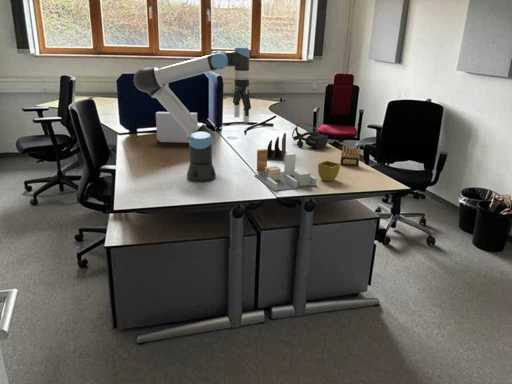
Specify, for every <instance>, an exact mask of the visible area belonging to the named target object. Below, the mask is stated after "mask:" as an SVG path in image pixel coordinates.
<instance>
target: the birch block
mask: <svg viewBox="0 0 512 384" xmlns="http://www.w3.org/2000/svg"><path fill="white" fill-rule="evenodd" d="M256 171H257V172H258V173H260V172H261V173H263V174H265V178H267V177H270V178H271V179H272V180H274V181H275V180H280V172H281V168H280V167H278V166H277V165H271V166H268V160H267V148H261V149H257V150H256Z"/></svg>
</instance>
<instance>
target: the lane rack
mask: <svg viewBox="0 0 512 384" xmlns="http://www.w3.org/2000/svg"><path fill="white" fill-rule="evenodd" d="M254 177H255V178H256V179H257V180H259V181H260V182H261V183H263V185H265V186H266V187H267V188H269V189H270V190H271V191H272V192H282V191H283V192H284V191H289V190H296V189H304V188H311V187H317V186H318V184H317V179H318V178H317V177H315V176H313V175H312V174H311V175H310V185H305V186H298V185H297V184H298V181H297V180H295V179H294V178H292V177H291V176H289V175H286V176H285V175H284V171H280V180H275V181H274V180H272V179H271V178H270V177H267V178H265V173H260V174H254Z"/></svg>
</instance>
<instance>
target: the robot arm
mask: <svg viewBox="0 0 512 384" xmlns="http://www.w3.org/2000/svg"><path fill="white" fill-rule="evenodd" d="M226 67H232V68H233V67H234V71H233V72H234V74H233V75H234V93H233V99H232V104H233V105H234V111H233V112H234V113H233V115H234V118H240V110H241V109H240V105H241V103H240V102H241V101H242V104H243V123H249V122H250V110H252V105H251V97H250V94H249V93H250V90H249V89H247V88H248V87H250V79H249V78H250V74H251V73H250V49H249V47H247V46H246V47H245V46H235V47H234V50H232V51H230V50H212V51H211V52H210V54H208V55H205V56H201V57H197V58H192V59H190V60H186V61H181V62H179V63H175V64H171V65H167V66H164V67H163V66H162V67H161V68H158V67H156V66H151V65H149V66H145V67H143V68H140V69H138V70H137V71H136V72H135V73H134V76H133V84H134V86H135V87H136V89H137V90H139V91H141V92H142V93H147V94H148V95H149V96H150V97H151V98H152V99H157V101H158V102H159V103H160V104H161V106H163V108H164V109H166V112H169V113H170V114H171V116H172V117H173V118H174V119H175V120H176V121H177V122H178V124H179V125H180V126H181V127H182V128H183V129H184V130H185V132H186V133H187V138H188V139H189V143H188V146H189V150H188V151H189V164H188V165H189V166H188V170H187V172H186V179H187V180H188V181H190V182H195V183H206V182H211V181H214V180H215V179H216V178H217V176H216V175H217V174H216V173H217V172H216V170H215V167H214V164H213V149H214V146H215V145H216V134H215V133H214V131H213V130H211V129H210V128H208V127H207V126H206V125H205V124H204V123H202V122H199V121H198V119H197V120H196V119H195V118H194V117H193V115H192V114H191V113H192V112H190V110H189V109H188V108H187V107H186V106H185V105H184V103H182V102H181V100H180V99H179V98H178V96H176V94H175V93H174V92H173V91H172V90H171V88H170V87H169V86H170V85H169V83H173V82H176V81H180V80H183V79H187V78H191V77H195V76H200V75H203V74H206V73H210V72H213V71H218V70H224V69H225V68H226Z"/></svg>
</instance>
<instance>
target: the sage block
mask: <svg viewBox="0 0 512 384" xmlns="http://www.w3.org/2000/svg"><path fill="white" fill-rule="evenodd" d="M296 155H297V154H296V153H294V152H290V153H289V152H288V153H285V155H284V168H283V169H284V170H283V172H284V175H285V176H286V175H289V176H291V177H292V178H294V179H295V180H297V181H298V184H297V185H298V186H305V185H310V175H312V174H311V172H308V171H307V170H305V169H301V170H296Z"/></svg>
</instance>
